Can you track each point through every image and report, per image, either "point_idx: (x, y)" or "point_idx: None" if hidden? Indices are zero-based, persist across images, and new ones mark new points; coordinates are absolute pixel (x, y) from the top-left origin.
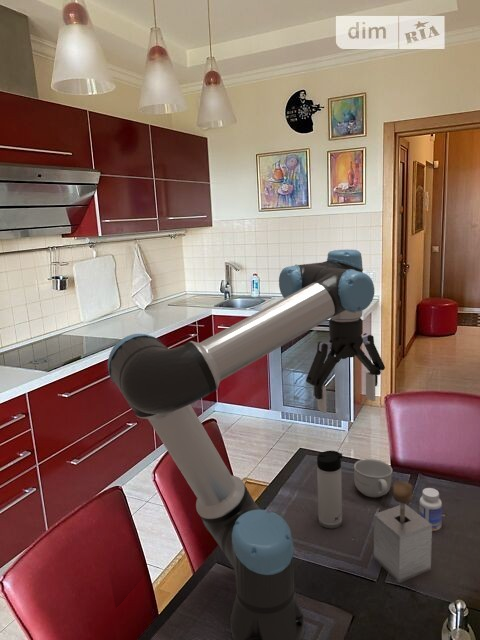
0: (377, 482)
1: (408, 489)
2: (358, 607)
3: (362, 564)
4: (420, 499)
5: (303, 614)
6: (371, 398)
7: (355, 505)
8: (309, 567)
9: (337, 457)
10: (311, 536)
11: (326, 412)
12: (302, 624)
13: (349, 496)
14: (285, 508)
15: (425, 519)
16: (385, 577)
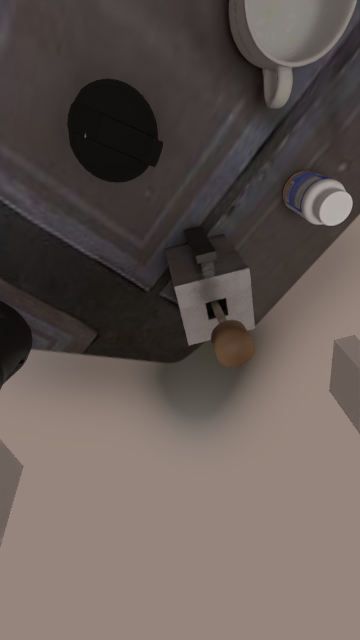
0: (274, 66)
1: (239, 363)
2: (108, 325)
3: (141, 258)
4: (310, 195)
5: (27, 347)
6: (338, 392)
7: (198, 70)
8: (51, 247)
9: (143, 148)
10: (66, 164)
11: (22, 467)
12: (25, 360)
13: (200, 16)
14: (7, 16)
15: (253, 316)
16: (163, 287)
